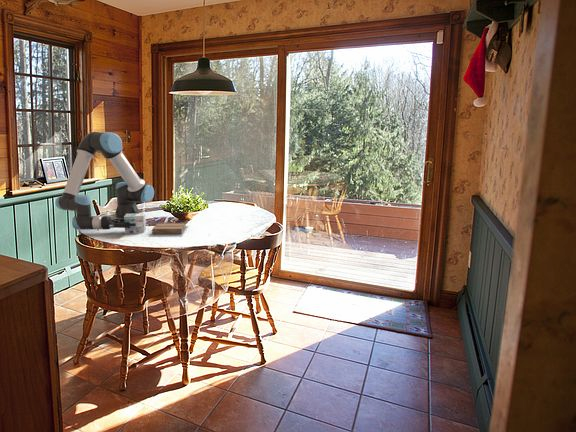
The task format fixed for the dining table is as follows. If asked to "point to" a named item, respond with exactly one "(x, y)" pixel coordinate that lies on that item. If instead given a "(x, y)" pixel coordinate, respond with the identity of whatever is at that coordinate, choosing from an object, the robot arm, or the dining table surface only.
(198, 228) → the dining table surface
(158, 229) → the walnut plinth
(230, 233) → the dining table surface
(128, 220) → the light bulb box
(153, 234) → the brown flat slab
